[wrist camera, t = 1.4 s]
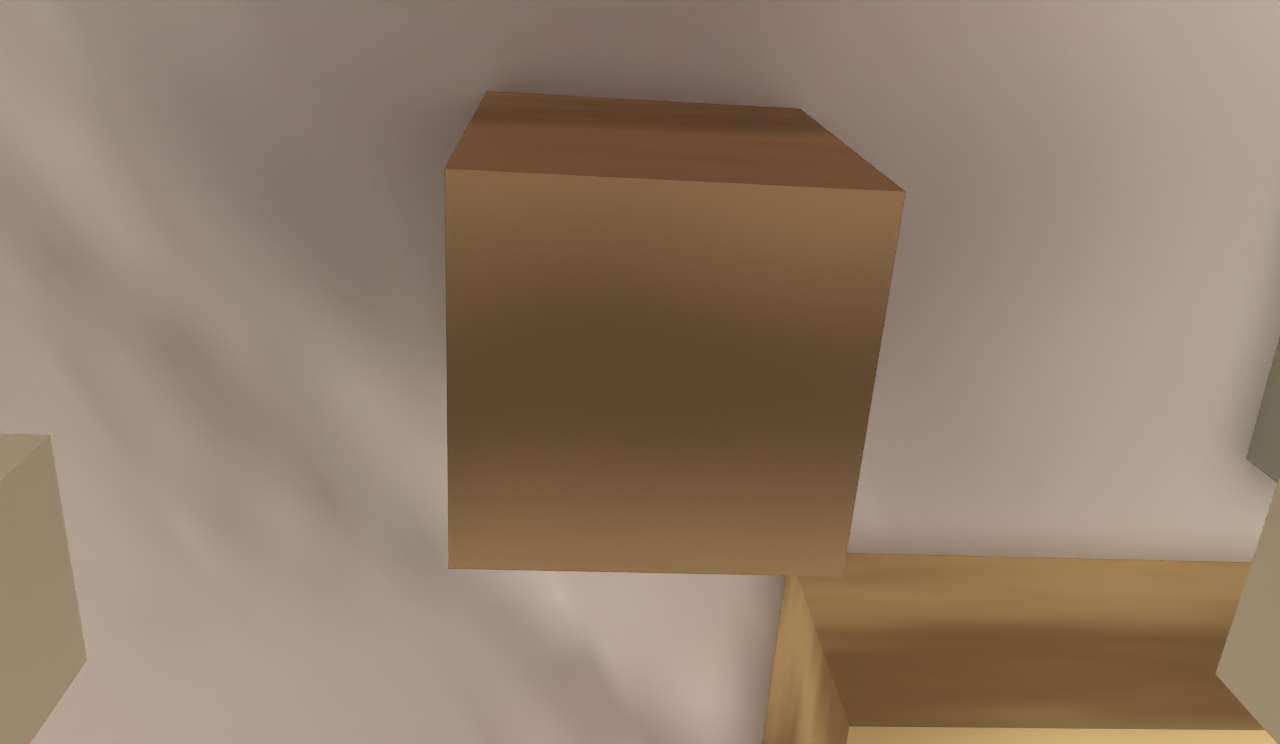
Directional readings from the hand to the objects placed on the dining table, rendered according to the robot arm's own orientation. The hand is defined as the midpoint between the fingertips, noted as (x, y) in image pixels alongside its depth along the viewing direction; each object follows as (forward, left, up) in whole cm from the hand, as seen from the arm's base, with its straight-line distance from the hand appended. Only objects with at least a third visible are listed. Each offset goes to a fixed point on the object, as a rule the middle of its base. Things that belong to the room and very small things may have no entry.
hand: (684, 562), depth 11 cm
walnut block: (0, 0, -11) cm, 11 cm away
